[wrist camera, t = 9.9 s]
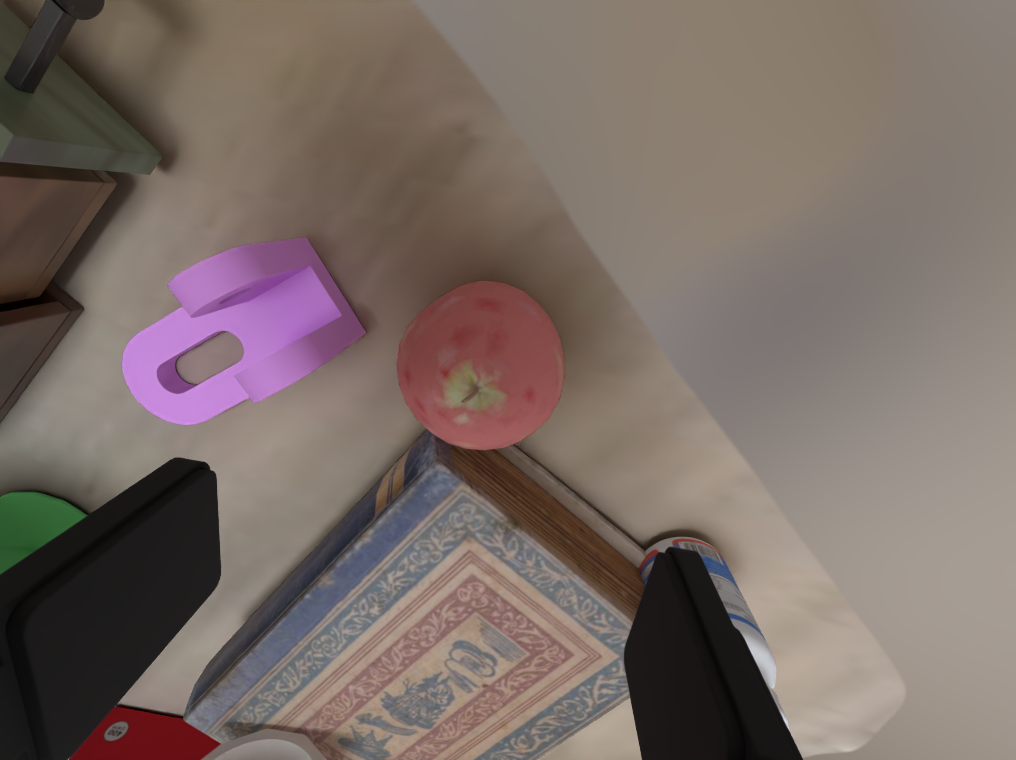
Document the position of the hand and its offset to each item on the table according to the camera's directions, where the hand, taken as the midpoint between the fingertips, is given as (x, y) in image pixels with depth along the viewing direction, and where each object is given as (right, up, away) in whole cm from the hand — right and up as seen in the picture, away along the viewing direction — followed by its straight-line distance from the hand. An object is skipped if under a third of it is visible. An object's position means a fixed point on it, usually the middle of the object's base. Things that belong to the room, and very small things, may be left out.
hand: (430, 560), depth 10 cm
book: (-3, -11, +22) cm, 24 cm away
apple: (+1, +6, +16) cm, 17 cm away
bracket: (-13, +6, +16) cm, 22 cm away
